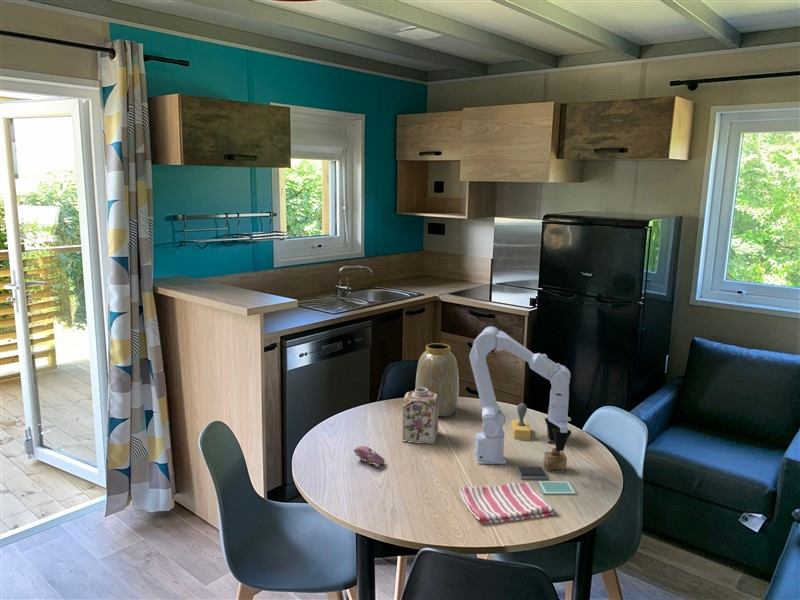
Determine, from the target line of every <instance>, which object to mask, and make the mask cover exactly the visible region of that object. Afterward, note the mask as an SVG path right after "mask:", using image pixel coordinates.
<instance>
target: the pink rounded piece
mask: <svg viewBox="0 0 800 600" xmlns="http://www.w3.org/2000/svg"><path fill="white" fill-rule="evenodd" d="M353 451H354V454H355V456H357V457H359V459H360V460H361V459H363V460H367V461H366V462H367V463H368V464H369V463H371V464H373V463H374V464H375V465H379V466H382V465H381V464H383V465H385V463H386V460H385V458H384V457H383V456H381V455H379V453H377V452H376V451H375V450H373V449H372V448H371V447H369V446H366V445H365V446H364V445H363V446H362V445H361V444H360V445H359V446H356V447H355V449H353ZM374 464H373V465H374Z"/></svg>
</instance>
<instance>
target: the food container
mask: <svg viewBox="0 0 800 600" xmlns="http://www.w3.org/2000/svg"><path fill="white" fill-rule="evenodd" d="M549 406H550V405H549ZM549 406H548V407H547V417H548V416H549ZM546 427H547V426H546ZM546 436H547V437H546V438H547V439H546V441H547V443H548V444H555V441H550V439H549V432H548V427H547V428H546Z"/></svg>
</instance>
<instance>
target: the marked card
mask: <svg viewBox="0 0 800 600" xmlns="http://www.w3.org/2000/svg"><path fill="white" fill-rule="evenodd" d="M536 483H537V485H538V487H539V489H540V491H541V493H542V494H543V495H542V496H548V495H549V496H555V495H556V496H562V495H563V496H564V495H565V496H566V495H567V496H572V495H573V496H576V495H578V493H577V491H576V490H575V488H574V486H573V485H572V483H571V482H570V480H536Z"/></svg>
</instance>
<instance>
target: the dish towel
mask: <svg viewBox="0 0 800 600" xmlns="http://www.w3.org/2000/svg"><path fill="white" fill-rule="evenodd" d="M459 496H460V497H461V499H462V501H463V503H464V505H465V506H466V507H467V508H468V510H469V511H470V513H471V514H472V515H473V516H474V517H475V518H476V519H477V520H478V521H479V522H481V525H485V524H486V525H487V524H500V523H506V522H514V521H523V520H530V519H537V518H538V519H539V518H545V517H549V516H553V515H555V514H557V511H556V509H555V508H554V507H553V506H552V504H550V503H549V502H548V501H547V500H546V499H545V498H544V496H543V495H542V494H540V492H539V491H537V489H535V487H534V486H533V485H532V484H531V483H529V482H527V481H526V482H512V483H507V484H503V485H493V486H486V487H484V486H470V487H469V486H468V487H466V486H464V485H463V486H461V487H460V488H459Z"/></svg>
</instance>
